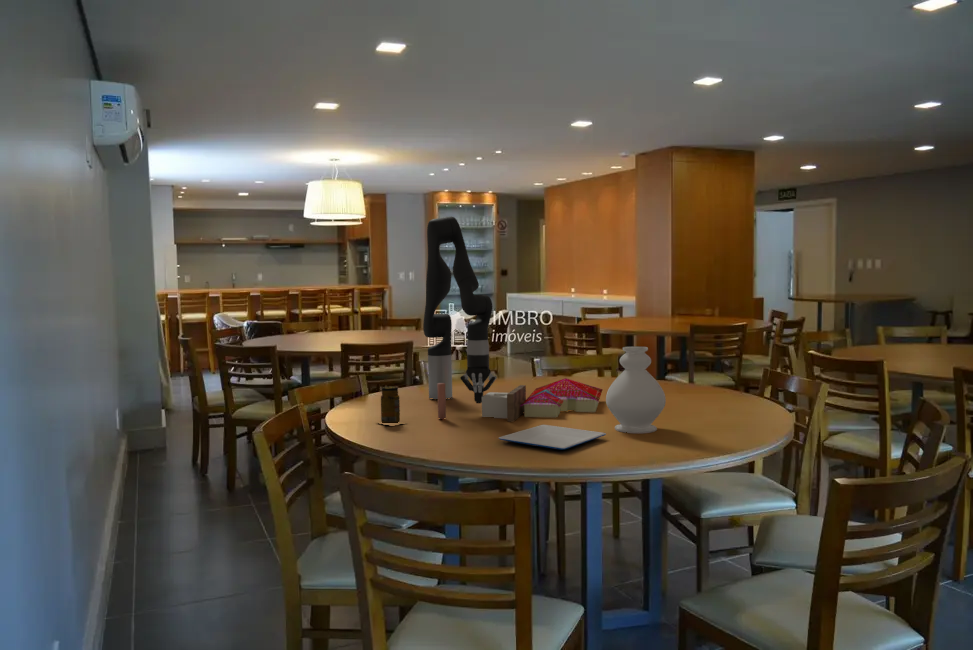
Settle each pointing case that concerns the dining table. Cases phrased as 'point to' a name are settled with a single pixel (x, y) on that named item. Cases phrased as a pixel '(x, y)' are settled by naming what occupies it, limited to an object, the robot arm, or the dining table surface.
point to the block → (494, 405)
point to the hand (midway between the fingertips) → (478, 403)
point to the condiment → (390, 405)
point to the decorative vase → (635, 394)
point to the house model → (561, 399)
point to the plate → (552, 437)
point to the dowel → (441, 401)
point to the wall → (516, 403)
